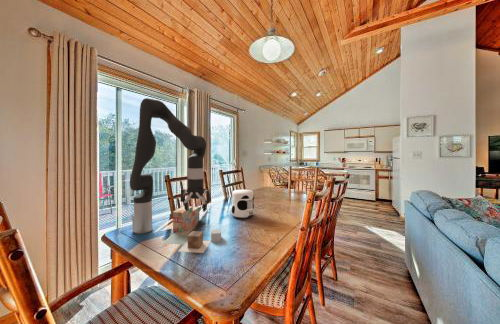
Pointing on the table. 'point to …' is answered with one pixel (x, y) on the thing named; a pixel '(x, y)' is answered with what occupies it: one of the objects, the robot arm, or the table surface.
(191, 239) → the walnut block
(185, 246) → the tile
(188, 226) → the stack of blocks
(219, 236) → the grey block
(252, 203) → the milk container
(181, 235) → the grey-green mat
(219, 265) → the table surface
